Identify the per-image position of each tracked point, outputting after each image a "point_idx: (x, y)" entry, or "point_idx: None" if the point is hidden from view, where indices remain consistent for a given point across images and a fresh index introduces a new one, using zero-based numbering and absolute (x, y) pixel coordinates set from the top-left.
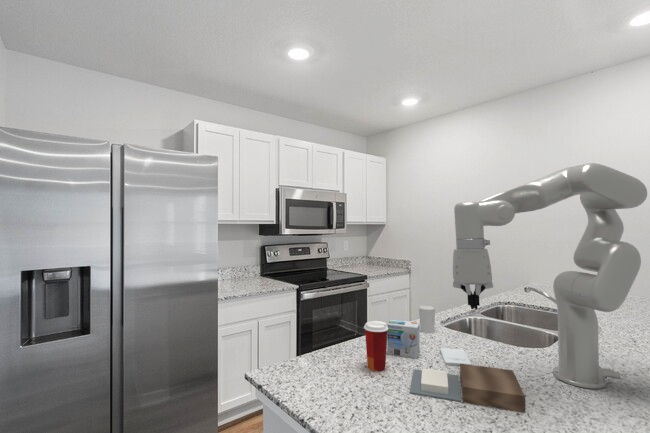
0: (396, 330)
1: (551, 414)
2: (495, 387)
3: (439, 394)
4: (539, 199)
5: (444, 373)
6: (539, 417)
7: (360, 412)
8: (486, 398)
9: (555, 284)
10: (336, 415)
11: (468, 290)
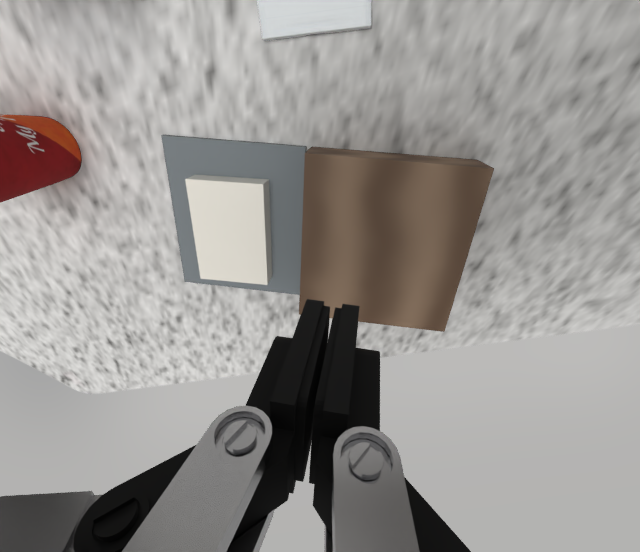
0: None
1: (496, 304)
2: (382, 303)
3: None
4: None
5: (256, 203)
6: (459, 319)
7: (124, 355)
8: None
9: None
10: (94, 368)
11: (232, 545)
